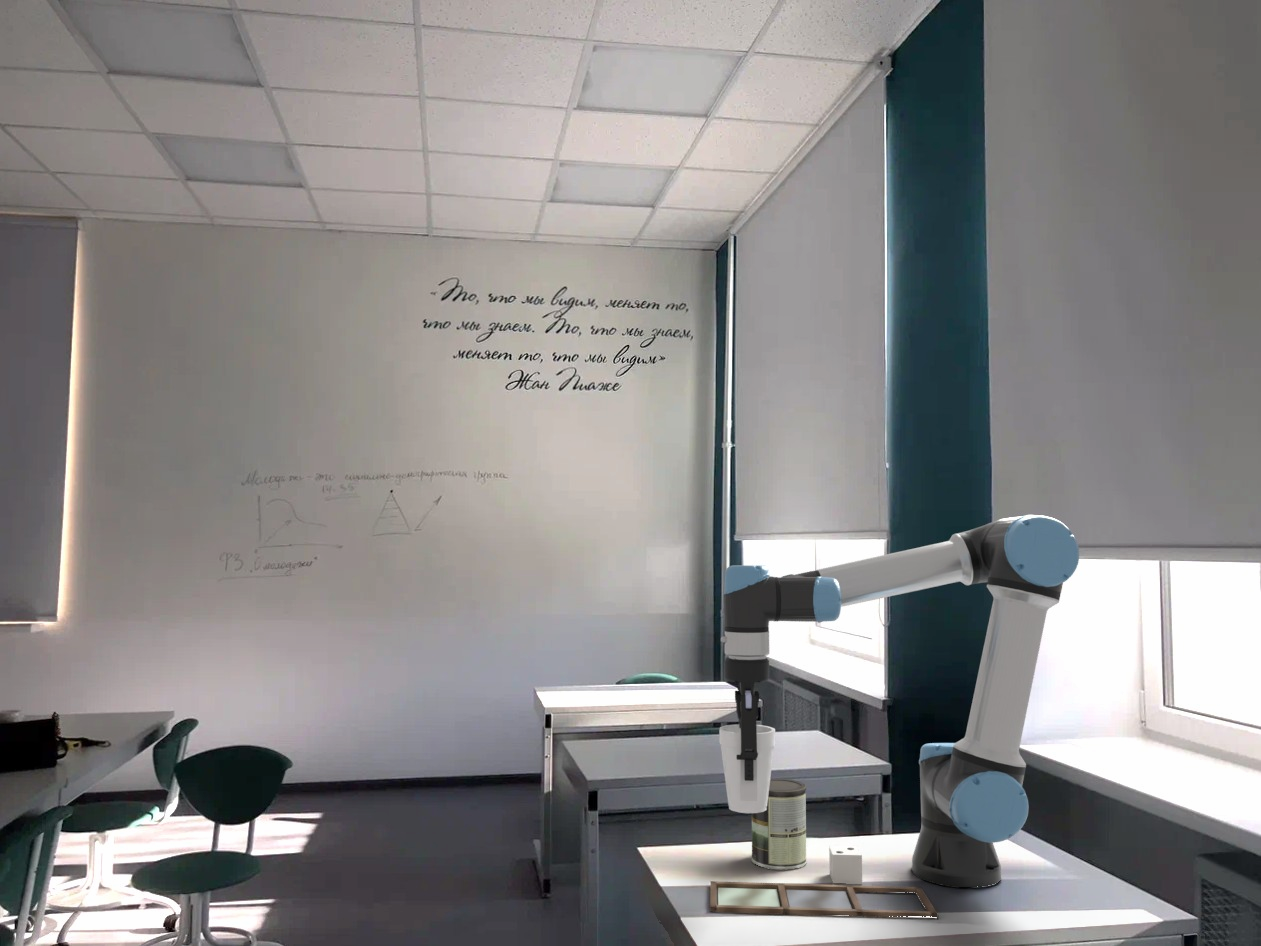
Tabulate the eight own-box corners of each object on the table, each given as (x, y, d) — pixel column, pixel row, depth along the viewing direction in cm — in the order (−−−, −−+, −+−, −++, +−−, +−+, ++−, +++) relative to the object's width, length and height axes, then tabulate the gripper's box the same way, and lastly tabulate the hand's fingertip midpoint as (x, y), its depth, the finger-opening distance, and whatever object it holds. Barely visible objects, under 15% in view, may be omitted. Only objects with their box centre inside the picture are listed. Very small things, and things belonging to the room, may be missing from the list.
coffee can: (742, 864, 182) (741, 786, 183) (764, 850, 190) (763, 776, 192) (795, 874, 176) (794, 793, 178) (815, 859, 185) (814, 782, 186)
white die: (858, 875, 176) (857, 846, 176) (862, 885, 171) (861, 854, 171) (829, 874, 176) (829, 845, 177) (833, 884, 171) (832, 854, 172)
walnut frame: (920, 892, 167) (920, 887, 167) (937, 919, 155) (937, 913, 155) (710, 886, 170) (710, 881, 170) (710, 912, 157) (710, 906, 157)
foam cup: (712, 812, 162) (712, 731, 163) (727, 799, 170) (726, 722, 171) (770, 817, 158) (769, 735, 159) (781, 804, 167) (780, 726, 168)
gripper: (723, 650, 178) (724, 777, 176) (725, 663, 156) (726, 809, 154) (765, 650, 177) (766, 778, 175) (773, 664, 155) (774, 810, 153)
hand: (747, 792), depth 165 cm, fingers closed on foam cup, 9 cm apart
